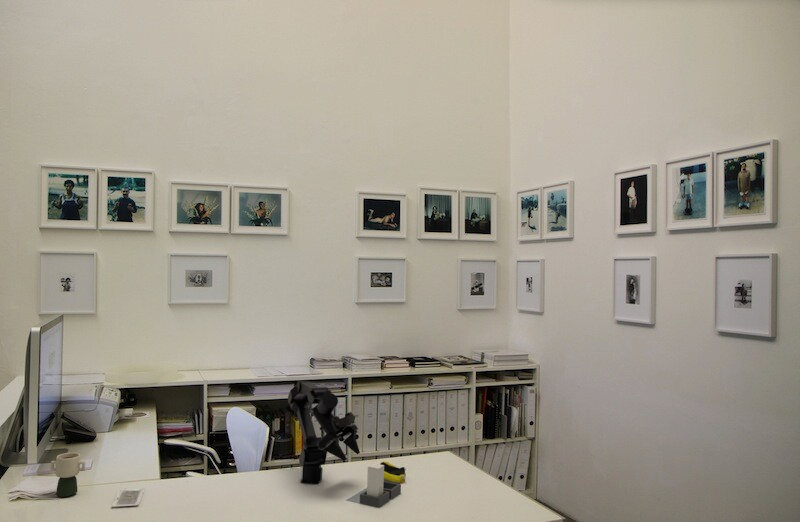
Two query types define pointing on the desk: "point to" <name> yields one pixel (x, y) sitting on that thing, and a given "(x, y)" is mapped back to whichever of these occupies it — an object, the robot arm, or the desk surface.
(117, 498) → the touchpad
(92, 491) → the desk surface
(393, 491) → the board
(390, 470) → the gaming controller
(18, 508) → the desk surface
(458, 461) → the desk surface
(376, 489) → the plug
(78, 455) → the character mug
